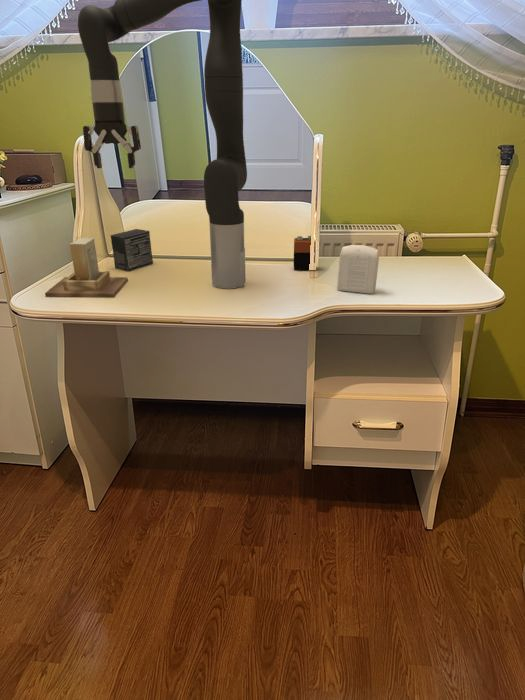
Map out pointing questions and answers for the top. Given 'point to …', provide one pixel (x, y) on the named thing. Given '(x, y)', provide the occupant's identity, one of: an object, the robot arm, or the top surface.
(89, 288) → the cosmetics stand
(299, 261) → the battery
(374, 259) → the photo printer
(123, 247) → the small box
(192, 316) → the top surface
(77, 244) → the skincare box
